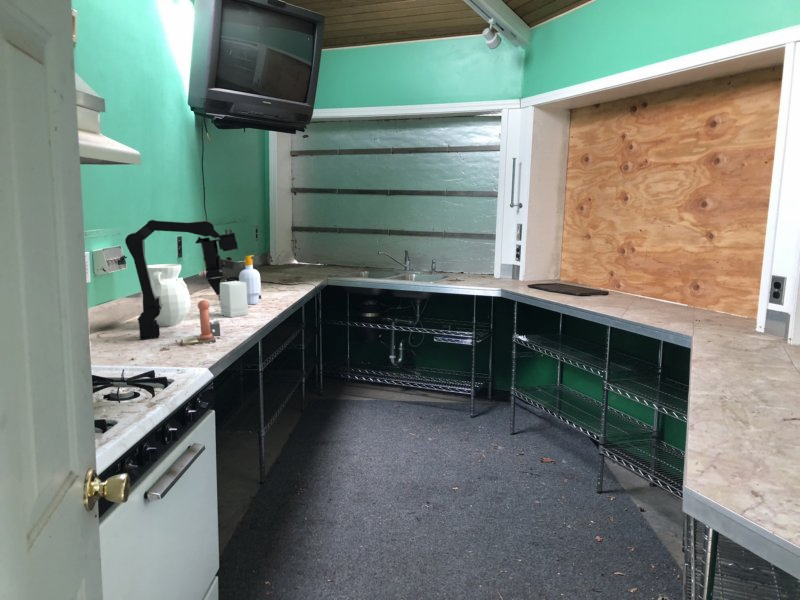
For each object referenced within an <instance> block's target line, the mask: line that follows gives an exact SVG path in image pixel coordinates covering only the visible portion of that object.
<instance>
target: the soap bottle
mask: <svg viewBox="0 0 800 600" xmlns="http://www.w3.org/2000/svg"><path fill="white" fill-rule="evenodd" d="M254 256H255V255H246V256H245V259H244V267H245V269H242V270H241V271H240V272H239V274H238V275H239V276H238V281H240V282H246V289H247V304H248V306H253V305H258V304H259V303H260V297H259V296H260V295H259V294H260V293H261V292H262V285H261V284H262V283H261V275H260V272H259V270H257V269H255V268H254V267H253V266H254V264H253V258H252V257H254Z"/></svg>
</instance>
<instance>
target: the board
mask: <svg viewBox="0 0 800 600" xmlns="http://www.w3.org/2000/svg"><path fill="white" fill-rule="evenodd" d="M212 337H213V338H212V339H208V340H201V339H200V336H198V337H187V338H181V339H180V343H181V342H182V343H181V345H183V346H182V347H187V346H186V345H191V346H196V345H195V344H199V345H204V344H203V343H208V344H211V343H210V342H216V343H217V341H216V337H214V336H212Z"/></svg>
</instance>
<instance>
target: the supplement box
mask: <svg viewBox="0 0 800 600" xmlns="http://www.w3.org/2000/svg"><path fill="white" fill-rule="evenodd" d="M219 299H220V300H219V301H220V303H219V304H220V314H221V316H223V315H224V317H227V318H237V317H241V316H247V315H249V308H248V306H249V305H248V304H247V289H246V282H240V281H239V280H231V281H223V282H220V295H219Z"/></svg>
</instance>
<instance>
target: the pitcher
mask: <svg viewBox="0 0 800 600" xmlns="http://www.w3.org/2000/svg"><path fill="white" fill-rule="evenodd" d="M147 267H148V271H149V275H150V279H151V283H152V287H153V291H154V293H155V295H156V297H158V296H160V299H161V304H162V305H163V306H162V308H161V312H160V314H159V315H158V317H156V318H155V320H157V324H159V327H160V326H165V327H173V325H174V326H177V324H178V325H180V323H181V322H182V321H183V320H184V319H185V318H186V317H187V315H188V314H189V312H190V309H191V296H190V291H189V289H188V285H187V283H185V281H184V279H183V277H180V278H179V275H180V273H181V270H182V265H181V264H180V263H162V264H160V263H159V264H149V265H148V264H147ZM141 302H142V303H143V300H142V301H141Z"/></svg>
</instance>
